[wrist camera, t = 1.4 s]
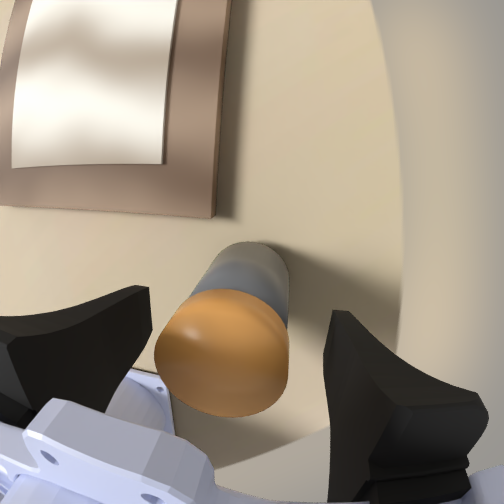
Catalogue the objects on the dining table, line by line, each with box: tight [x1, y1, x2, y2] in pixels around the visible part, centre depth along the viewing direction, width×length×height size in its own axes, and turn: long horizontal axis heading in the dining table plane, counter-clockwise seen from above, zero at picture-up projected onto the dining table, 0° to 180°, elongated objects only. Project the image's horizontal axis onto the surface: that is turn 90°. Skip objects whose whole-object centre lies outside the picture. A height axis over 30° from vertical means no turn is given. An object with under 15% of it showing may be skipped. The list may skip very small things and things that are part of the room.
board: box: [0, 0, 232, 219], centre depth 13 cm, size 18×16×1 cm
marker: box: [154, 242, 289, 417], centre depth 13 cm, size 4×4×8 cm
